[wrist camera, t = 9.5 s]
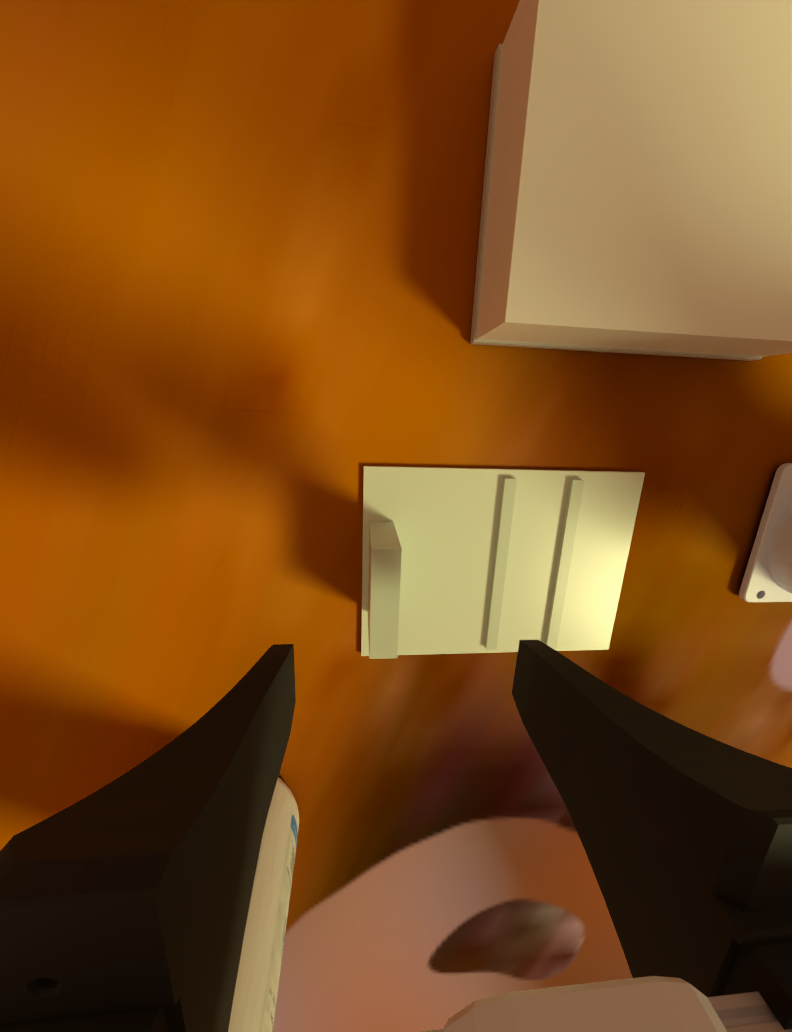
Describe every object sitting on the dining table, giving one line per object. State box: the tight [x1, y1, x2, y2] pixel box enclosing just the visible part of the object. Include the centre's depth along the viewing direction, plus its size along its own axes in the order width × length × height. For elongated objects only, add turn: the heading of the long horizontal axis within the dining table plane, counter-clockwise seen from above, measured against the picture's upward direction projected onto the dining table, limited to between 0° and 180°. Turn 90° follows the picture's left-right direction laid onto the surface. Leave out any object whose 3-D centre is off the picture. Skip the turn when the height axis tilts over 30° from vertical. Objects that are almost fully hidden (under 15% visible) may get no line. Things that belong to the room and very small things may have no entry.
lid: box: [361, 466, 645, 659], centre depth 19 cm, size 14×10×5 cm
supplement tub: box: [228, 777, 299, 1032], centre depth 16 cm, size 10×10×15 cm
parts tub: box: [470, 0, 792, 361], centre depth 15 cm, size 14×10×4 cm
